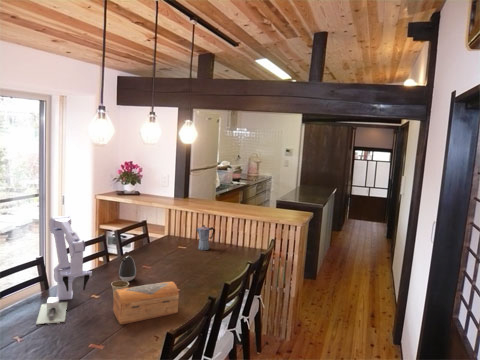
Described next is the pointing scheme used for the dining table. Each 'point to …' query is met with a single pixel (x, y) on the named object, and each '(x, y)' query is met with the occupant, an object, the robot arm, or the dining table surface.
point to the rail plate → (56, 316)
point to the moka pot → (204, 237)
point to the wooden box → (145, 302)
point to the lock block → (53, 304)
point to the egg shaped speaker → (127, 269)
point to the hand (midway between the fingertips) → (75, 289)
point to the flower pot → (119, 285)
